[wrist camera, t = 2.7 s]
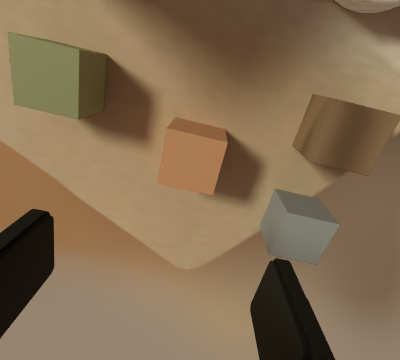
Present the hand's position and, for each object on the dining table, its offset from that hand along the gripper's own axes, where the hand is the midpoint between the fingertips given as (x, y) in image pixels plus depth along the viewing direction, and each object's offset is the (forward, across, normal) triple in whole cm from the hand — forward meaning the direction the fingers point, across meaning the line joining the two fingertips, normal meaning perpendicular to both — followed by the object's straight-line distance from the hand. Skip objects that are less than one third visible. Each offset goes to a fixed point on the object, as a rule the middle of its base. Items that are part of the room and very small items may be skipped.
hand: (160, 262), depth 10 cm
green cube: (+16, +11, -5) cm, 20 cm away
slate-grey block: (+16, -13, +4) cm, 21 cm away
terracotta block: (+16, -1, -1) cm, 16 cm away
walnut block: (+16, -13, -6) cm, 21 cm away
